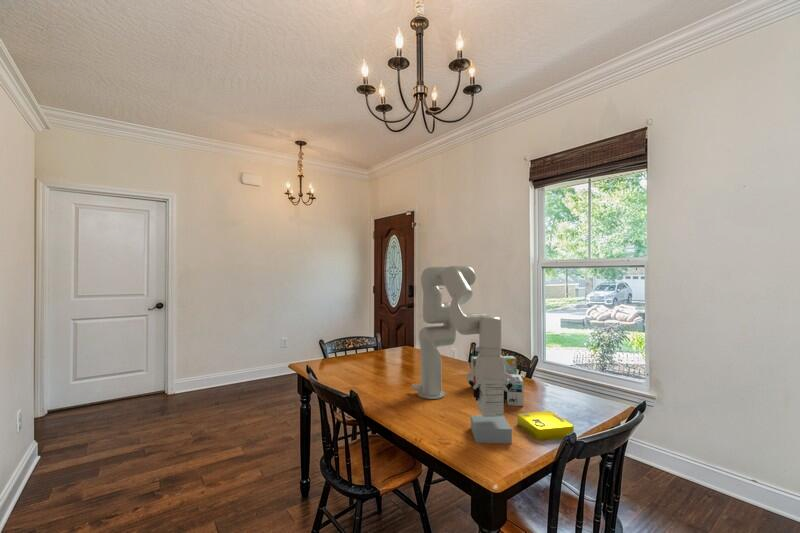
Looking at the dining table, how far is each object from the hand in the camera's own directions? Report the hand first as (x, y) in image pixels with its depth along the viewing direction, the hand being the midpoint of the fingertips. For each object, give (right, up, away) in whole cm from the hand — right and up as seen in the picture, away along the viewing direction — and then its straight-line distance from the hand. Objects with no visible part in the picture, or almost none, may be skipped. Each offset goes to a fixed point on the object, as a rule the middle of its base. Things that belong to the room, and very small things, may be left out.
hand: (490, 400), depth 135 cm
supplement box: (0, -5, 0) cm, 5 cm away
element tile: (+21, -13, +4) cm, 25 cm away
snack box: (+14, -12, +53) cm, 56 cm away
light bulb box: (+18, -12, +34) cm, 40 cm away
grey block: (0, -12, 0) cm, 12 cm away
